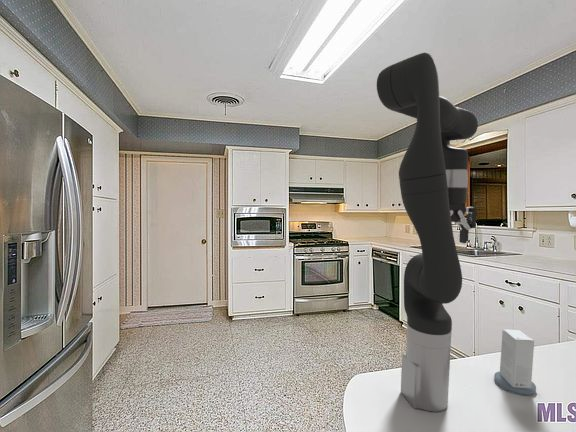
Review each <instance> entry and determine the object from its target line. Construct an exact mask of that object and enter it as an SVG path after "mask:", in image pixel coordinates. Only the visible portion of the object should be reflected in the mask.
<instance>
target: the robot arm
mask: <svg viewBox="0 0 576 432" xmlns="http://www.w3.org/2000/svg"><path fill="white" fill-rule="evenodd" d="M439 82H440V81H439V73H438V67H437V64H436V61H435V59H434V57H433V56H432V55H431V54H430V53H428V52H421V53H418V54H415V55H412V56H411V57H408V58H405V59H403V60H401V61H398V62H396V63H394V64H393V63H392V64H391V65H388V66H387V67H385V68H383V69H382V70H381V71H380V72H379V73H378V76H377V79H376V92H377V96H378V99H379V101H380V102H381V104H382V105H383V106H384V107H385V108H386V109H388V110H390V111H393V112H394V113H395V112H396V113H399V114H402V115H405V116H408V117H410V118H413V119H416V125H415V130H414V132H413V136H412V138H411V140H410V142H409V144H408V147H407V149H406V152H405V153H404V155H403V157H402V161H401V163H400V164H399V165H400V166H399V170H398V179H399V188H400V195H401V199H402V204H403V207H404V209H405V211H406V214H407V217H409V220H410V221H411V224H412V225H413V227H414V229H415V231H416V233H417V236H418V239H419V242H420V247H421V253H420V254H419V253H418V254H416V255H414V256H413V257H411V258H410V259H409V261H408V262H407V263H406V266H405V267H404V268H405V270H404V274H403V307H404V312H405V314H406V319H407V320H406V323H407V324H406V339H405V340H406V342H405V352H404V353H403V352H402V354H401V371H400V372H401V375H400V377H401V378H400V393H401V394H402V395H403V396H404V398H405V399H406V400H407V402H408V403H409V404H410V405H411V406H412V408H413V409H420V410H424V411H426V412H427V411H428V412H435V413H436V412H441V411H444V410H445V409H447V407H448V405H449V389H450V369H451V368H450V367H451V364H450V363H451V351H452V350H451V346H452V345H451V344H452V329H453V328H452V326H453V321H452V317H451V315H450V313H449V312H448V311H447V310H446V308H445V307H444V305H443V304H450V303H452V302H453V301H455V300H456V299H457V298H458V296H459V295H460V294H461V290H462V287H463V272H462V268H461V264H460V259H459V255H458V251H457V247H456V242H455V238H454V237H455V236H454V231H453V224H452V222H453V223H456V224H457V225H458V226H459V228H460V229H459V241H458V242H459V243H461V244H467V242H468V241H469V233H470V232H469V231H470V230H471V229H475V228H476V227H477V208H476V207H475V206H474V207H473V206H466V203H467V202H468V182H469V180H468V179H469V175H468V167H469V165H468V164H469V163H468V162H469V152H468V150H467V149H466V148H461V147H453V146H452V145H451V143H450V141H451V142H452V141H459V140H468V139H470V138H472V137H474V135H475V134H476V133H477V131H478V128H479V127H478V126H479V122H478V119H477V117H476V115H475V114H474V113H473V112H471V111H470V110H467V109H464V108H462V107H457V106H455V105H454V104H453V103H452V102H451V101H450V100H449V99H448V98H446V97H443V96H442V95H441V96H440V87H439ZM464 215H465V216H464Z"/></svg>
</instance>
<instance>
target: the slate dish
mask: <svg viewBox="0 0 576 432" xmlns="http://www.w3.org/2000/svg"><path fill="white" fill-rule="evenodd" d="M493 377H494V378H493V381H494V382H496V383H495V384H496V385H497V386H498V387H500V388H501V389H502V390H504V391H507V392H509V393H512V394H515V395H518V396H522V397H523V396H525V397H528V396H529V397H530V396H534V395H535V394H536V391H537V387H536V386H537V385H536V384H535V383H534V382H533V381H531V389H527V388H515V387H512V386H511V385H510V384H509V383H508V382H507V381H506V380H505V379H504V378H503V377H502V375H501V374H500V371H497V372H495V373H494V375H493Z"/></svg>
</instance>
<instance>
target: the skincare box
mask: <svg viewBox="0 0 576 432" xmlns="http://www.w3.org/2000/svg"><path fill="white" fill-rule="evenodd" d="M534 349H535V340H534V339H532V338H531V337H530V336H528V335H527V334H525V333H524V332H523V331H521V330H519V329H507V328H503V329H502V333H501V350H500V364H499V365H500V366H499V372H500V374H501V375H502V377H503V378H504V379H505V380H506V381H507V382H508V383H509V384H510V385H511V386H512V387H515V388H527V389H531V381H532V380H533V379H532V378H533V377H532V376H533V363H534ZM532 382H533V381H532Z"/></svg>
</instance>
